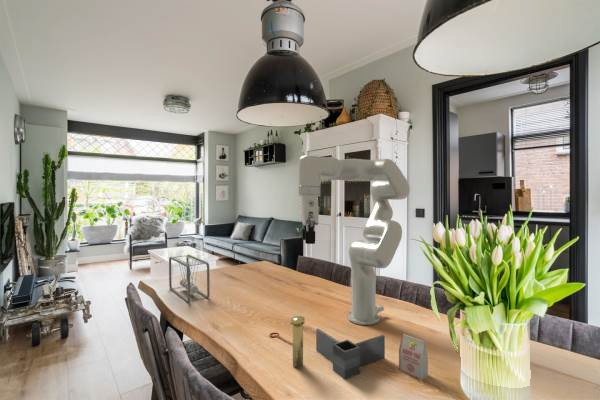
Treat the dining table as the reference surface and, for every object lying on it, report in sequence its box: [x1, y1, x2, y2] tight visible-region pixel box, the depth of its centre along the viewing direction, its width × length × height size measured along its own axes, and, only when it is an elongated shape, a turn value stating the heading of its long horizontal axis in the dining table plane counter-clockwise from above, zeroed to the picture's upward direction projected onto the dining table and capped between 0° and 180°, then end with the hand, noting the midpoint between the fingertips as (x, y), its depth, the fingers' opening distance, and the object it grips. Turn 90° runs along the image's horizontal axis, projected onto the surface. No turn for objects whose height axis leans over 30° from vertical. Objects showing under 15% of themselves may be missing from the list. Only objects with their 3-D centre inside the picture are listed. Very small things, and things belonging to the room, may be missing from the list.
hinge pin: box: [290, 315, 306, 369], centre depth 93 cm, size 4×4×14 cm
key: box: [269, 332, 293, 347], centre depth 109 cm, size 6×1×15 cm
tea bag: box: [398, 333, 429, 381], centre depth 89 cm, size 4×7×10 cm, turn 42°
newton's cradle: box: [168, 254, 211, 303], centre depth 161 cm, size 30×10×18 cm, turn 39°
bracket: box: [315, 328, 386, 380], centre depth 98 cm, size 17×17×8 cm
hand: (308, 241), depth 108 cm, fingers open, 9 cm apart
